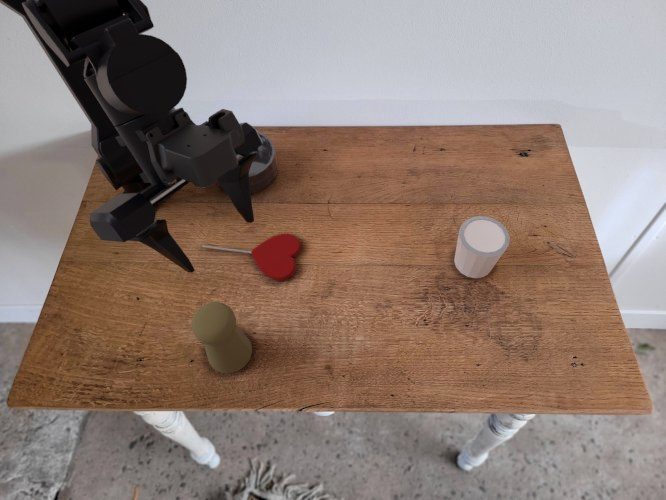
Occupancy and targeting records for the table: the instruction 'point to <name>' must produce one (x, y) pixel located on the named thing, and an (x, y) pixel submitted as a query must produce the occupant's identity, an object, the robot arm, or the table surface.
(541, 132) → the table surface
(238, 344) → the olive rounded peg
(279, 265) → the lollipop
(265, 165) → the bowl
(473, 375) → the table surface
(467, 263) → the white cylinder
